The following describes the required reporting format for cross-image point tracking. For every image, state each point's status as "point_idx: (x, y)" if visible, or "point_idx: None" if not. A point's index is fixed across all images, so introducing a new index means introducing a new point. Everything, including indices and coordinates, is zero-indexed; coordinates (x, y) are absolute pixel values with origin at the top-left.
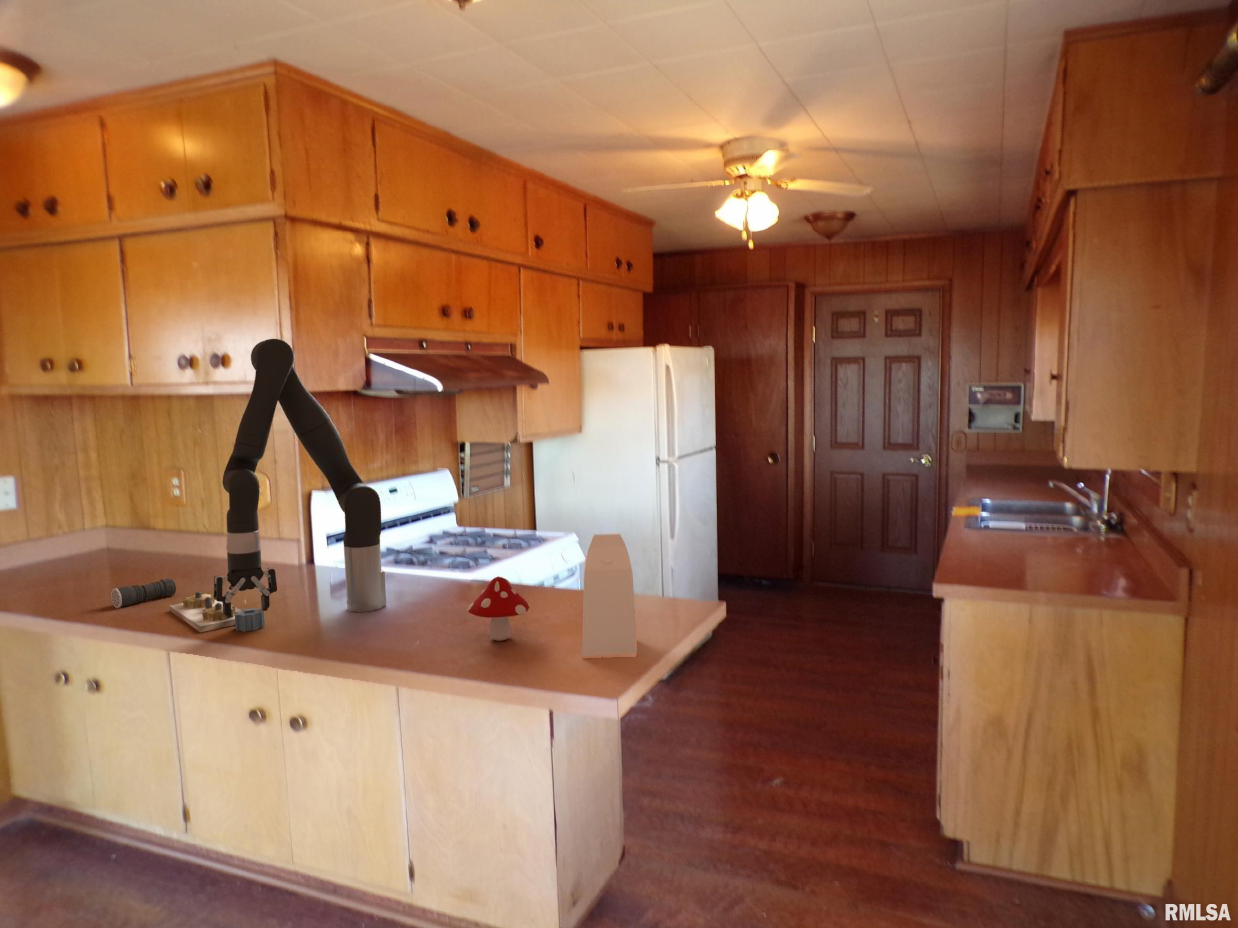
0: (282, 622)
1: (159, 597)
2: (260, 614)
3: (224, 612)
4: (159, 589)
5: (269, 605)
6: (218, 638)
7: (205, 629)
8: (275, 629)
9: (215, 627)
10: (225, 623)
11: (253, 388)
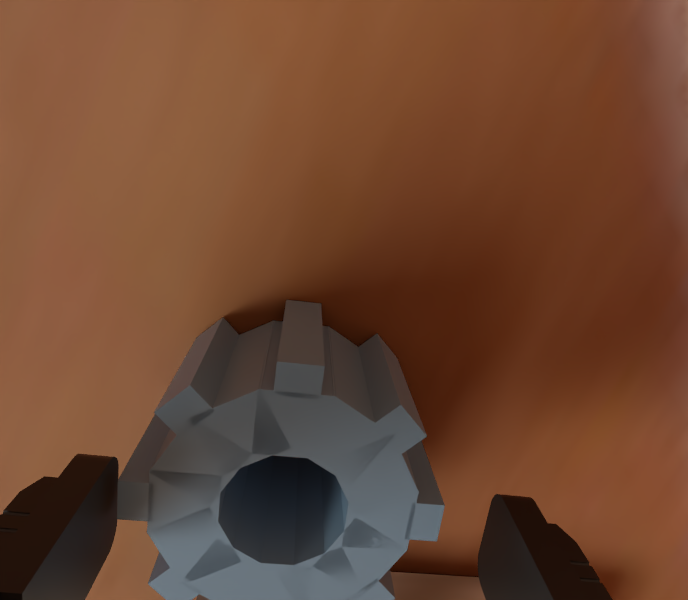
0: (12, 329)
1: None
2: (205, 383)
3: (577, 565)
4: None
5: (20, 494)
6: (611, 338)
7: None
8: (156, 166)
9: None
10: (414, 596)
11: None
